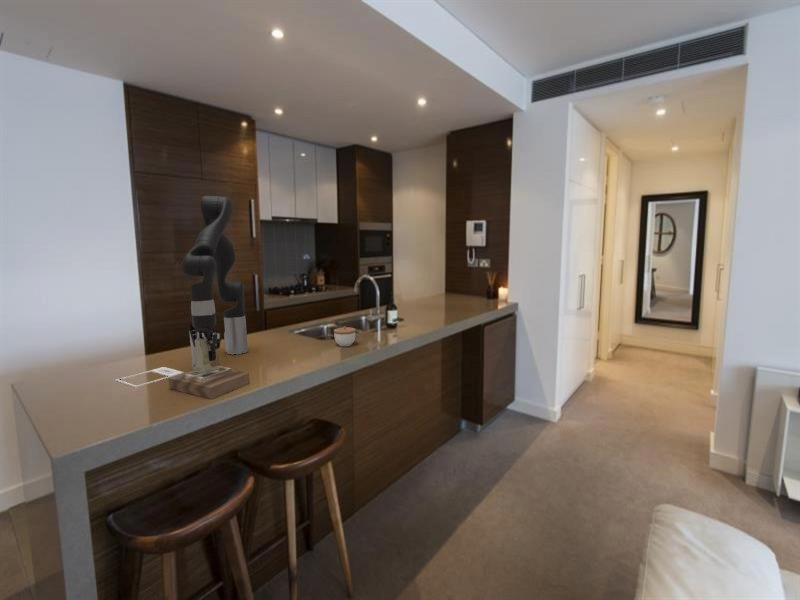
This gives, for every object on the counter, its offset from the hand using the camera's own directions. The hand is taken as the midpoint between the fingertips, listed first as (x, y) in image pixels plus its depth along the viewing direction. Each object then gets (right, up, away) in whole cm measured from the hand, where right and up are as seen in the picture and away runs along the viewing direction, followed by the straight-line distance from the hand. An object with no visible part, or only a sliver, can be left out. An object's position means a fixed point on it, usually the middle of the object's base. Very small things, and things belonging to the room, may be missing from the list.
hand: (207, 359), depth 144 cm
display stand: (0, -10, +1) cm, 10 cm away
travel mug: (-12, -7, +20) cm, 24 cm away
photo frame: (-28, -9, +12) cm, 32 cm away
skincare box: (0, -5, +1) cm, 5 cm away
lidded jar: (+42, -1, +56) cm, 70 cm away
